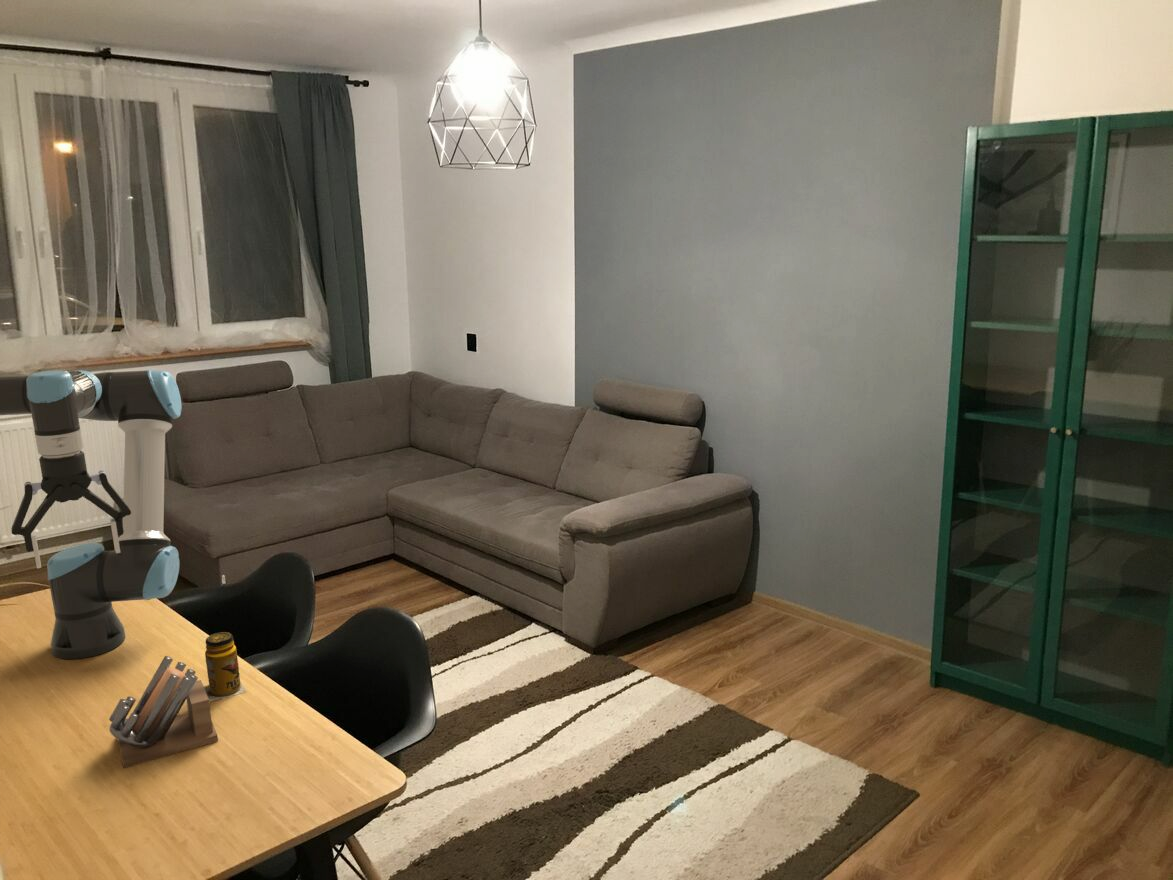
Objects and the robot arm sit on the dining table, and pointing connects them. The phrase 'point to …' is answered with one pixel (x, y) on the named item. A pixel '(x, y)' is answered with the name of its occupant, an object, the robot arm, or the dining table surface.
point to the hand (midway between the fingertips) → (79, 558)
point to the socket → (124, 726)
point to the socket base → (178, 731)
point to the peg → (155, 695)
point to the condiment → (222, 667)
